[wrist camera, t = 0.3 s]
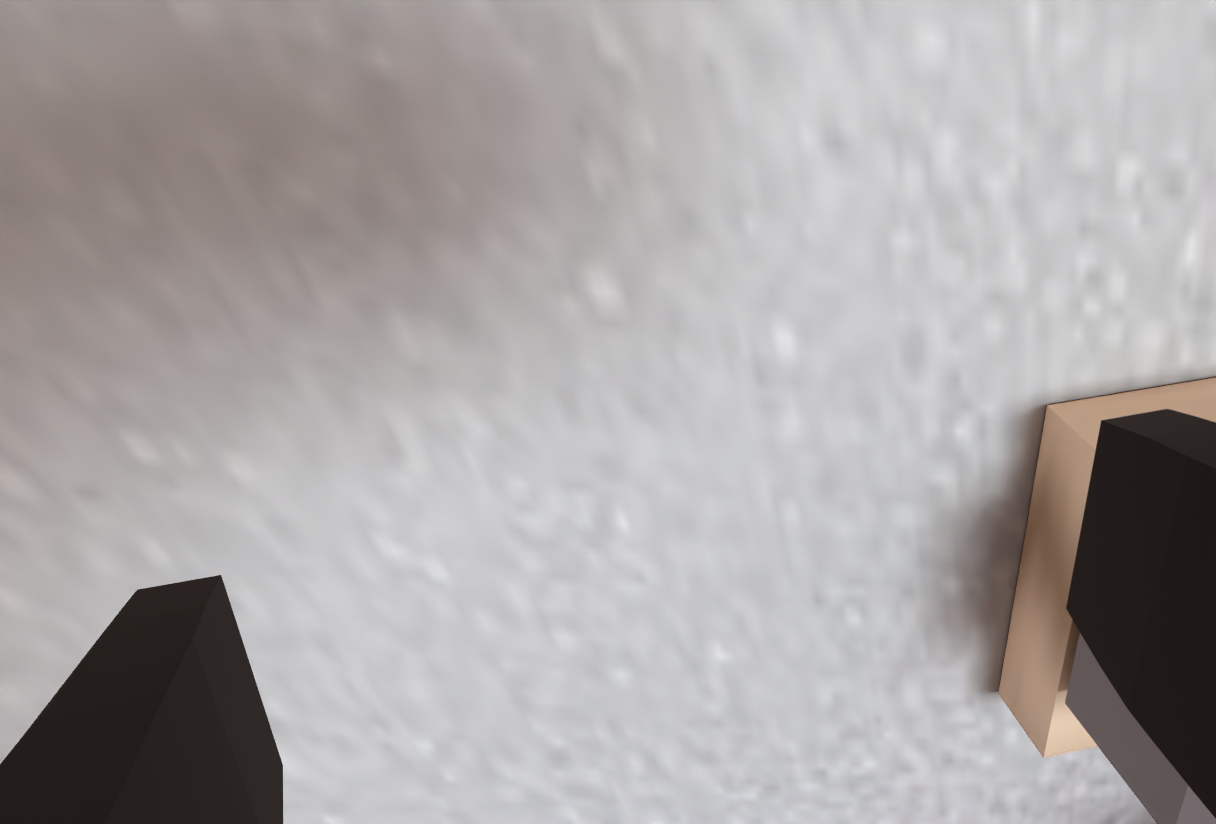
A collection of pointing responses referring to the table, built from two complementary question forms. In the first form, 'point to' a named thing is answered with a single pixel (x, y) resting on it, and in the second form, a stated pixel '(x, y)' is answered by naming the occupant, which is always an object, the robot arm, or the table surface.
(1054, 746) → the fader console
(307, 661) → the table surface
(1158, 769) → the fader knob
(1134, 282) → the table surface
